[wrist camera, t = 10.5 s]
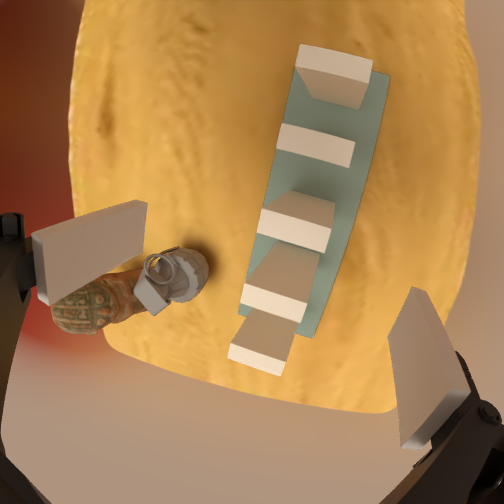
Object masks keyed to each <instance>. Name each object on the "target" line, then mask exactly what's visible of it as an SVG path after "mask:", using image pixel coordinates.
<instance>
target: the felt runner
mask: <svg viewBox="0 0 504 504" xmlns="http://www.w3.org/2000/svg"><path fill="white" fill-rule="evenodd" d="M389 80H390V76H388V75H385V74H382V73H379V72H375V71H372V70H371V74H370V79H369V84H368V87H367V89H366V92H365V95H364V98H363V100H362V103H361V106H360V108H359V110H356V109H352V108H349V107H345V106H341V105H338V104H334V103H330V102H326V101H322V100H318V99H313V98H312V97H311V95H310V93H309V91H308V89H307V87H306V86H305V84H304V82H303V80H302V78H301V76H300V75H299V73H298V71H297V69H296V67H295V70H294V74H293V78H292V83H291V87H290V91H289V96H288V100H287V104H286V109H285V113H284V117H283V121H282V123H285V124H289V125H293V126H298V127H302V128H306V129H310V130H314V131H318V132H322V133H326V134H329V135H333V136H336V137H340V138H343V139H347V140H350V141H354V142H355V146H354V150H353V154H352V158H351V162H350V166H349V168H347V167H344V166H340V165H337V164H333V163H330V162H326V161H323V160H319V159H316V158H312V157H308V156H305V155H301V154H297V153H293V152H289V151H285V150H281V149H277V148H276V152H275V156H274V160H273V165H272V169H271V173H270V177H269V182H268V186H267V190H266V195H265V199H264V203H263V207H265V206H266V205H268V204H269V203H271V202H272V201H274V200H275V199H277V198H278V197H280V196H282V195H283V194H285V193H286V192H288V191H289V190H293V191H296V192H300V193H303V194H307V195H310V196H314V197H317V198H320V199H324V200H327V201H330V202H334V203H335V210H334V217H333V224H332V230H331V233H330V237H329V240H328V243H327V246H326V250H325V253H322V252H319V251H315V250H312V249H309V248H306V247H302V246H299V245H296V244H293V243H290V242H286V241H283V240H280V239H276V238H273V237H270V236H267V235H263V234H260V233H256V238H255V242H254V246H253V251H252V255H251V259H250V264H249V268H248V272H247V277H246V281H247V279H248V278H249V277H250V275H251V274H252V273H253V272H254V270H255V269H256V268H257V266H258V265H259V264H260V263H261V261H262V260H263V259H264V257H265V256H266V255H267V254H268V252H269V251H270V250H271V248H272V247H273V246H274V244H275V243H276V242H277V241H279V242H283V243H286V244H289V245H293V246H296V247H299V248H302V249H305V250H309V251H312V252H315V253H318V254H320V257H319V261H318V265H317V269H316V273H315V277H314V281H313V285H312V288H311V292H310V296H309V300H308V304H307V307H306V309H305V312H304V315H303V318H302V321H301V323H299V322H298V326H297V329H296V332H295V333H296V334H299V335H302V336H305V337H308V338H313V336H314V333H315V331H316V328H317V326H318V323H319V321H320V318H321V315H322V313H323V310H324V308H325V305H326V302H327V300H328V297H329V294H330V292H331V289H332V286H333V283H334V280H335V278H336V275H337V272H338V269H339V266H340V263H341V260H342V257H343V254H344V251H345V248H346V245H347V242H348V239H349V236H350V233H351V230H352V227H353V223H354V220H355V217H356V214H357V210H358V207H359V204H360V200H361V197H362V193H363V190H364V186H365V183H366V179H367V175H368V172H369V168H370V164H371V160H372V156H373V152H374V148H375V144H376V140H377V136H378V132H379V128H380V123H381V119H382V114H383V110H384V105H385V100H386V95H387V90H388V85H389ZM246 281H245V282H246ZM252 308H253V307H251V306H248V305H245V304H242V303H240V307H239V311H238V314H240V315H243V316H245V317H247V316H248V314H249V313H250V311H251V310H252Z"/></svg>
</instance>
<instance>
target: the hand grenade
mask: <svg viewBox="0 0 504 504" xmlns="http://www.w3.org/2000/svg"><path fill="white" fill-rule="evenodd" d="M179 248H180V247H179V246H178V247H174V248H171V249H168V250H165V251H163V252H161V253H159V254H152V255H150V256H148V257H147V258H146V259H145V261H144V269H143V270H142V272H141V274H140V276H139V280H138V282H137V284H136V286H135V288H134V294H135V295H136V297H137V298H138V299H139V300H140V301H141V303H142V304H143V305H144V306H145V308H146V309H147V310H148V311H149V312H150V313H151V315H153V316H155V315H157V314H158V313H159V312H161V311H162V310H163V309H164V308H166V307H167V306H168V305H169V304H170V303H171V300H173V301H175V302H180V303H183V302H187V301H190V300H192V299H193V298H194V297H196V296H197V295H198V293H200V291H201V290H202V288H203V287H204V285H205V283H206V282H207V279H208V274H209V268H208V263H207V262H206V258H205V257H204V256H203V255H202V254H200V253H199V251H196V250H193V249H189V248H182V249H181V248H180V249H179ZM168 252H169V253H168ZM165 253H167V254H165ZM163 254H165V255H163ZM152 257H154V258H153V259H152V260H151V261H150V262H149V263H148V264H147V262H148V260H149V259H150V258H152ZM158 257H161V258H160V259H159V260H158V261H157V264H156V266H155V268H153V267H152V268H151V269H150V266H151V263H152V262H153V261H154V260H155V259H156V258H158ZM149 269H150V270H149ZM165 299H167V300H166V301H165Z"/></svg>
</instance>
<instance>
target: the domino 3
mask: <svg viewBox="0 0 504 504" xmlns="http://www.w3.org/2000/svg"><path fill="white" fill-rule="evenodd" d="M334 210H335V203H334V202H330V201H327V200H324V199H320V198H317V197H314V196H310V195H307V194H303V193H300V192H296V191H293V190H289V191H288V192H286V193H285V194H283V195H282V196H280V197H278V198H277V199H275V200H274V201H272V202H271V203H269V204H268V205H266V206H265V207H263V208H262V210H261V215H260V219H259V223H258V227H257V233H260V234H263V235H267V236H270V237H273V238H276V239H280V240H283V241H286V242H290V243H293V244H296V245H299V246H302V247H306V248H309V249H312V250H315V251H319V252H322V253H325V250H326V246H327V243H328V240H329V237H330V233H331V230H332V224H333V217H334Z"/></svg>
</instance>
